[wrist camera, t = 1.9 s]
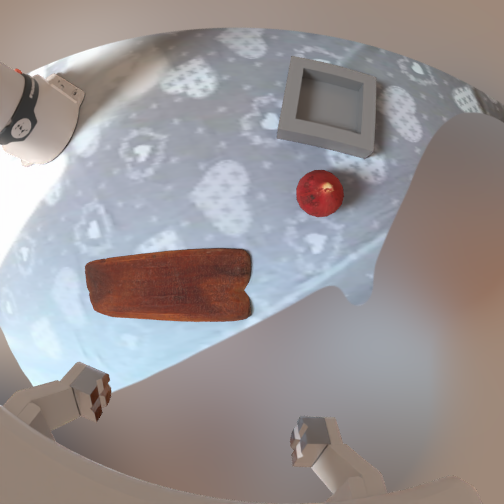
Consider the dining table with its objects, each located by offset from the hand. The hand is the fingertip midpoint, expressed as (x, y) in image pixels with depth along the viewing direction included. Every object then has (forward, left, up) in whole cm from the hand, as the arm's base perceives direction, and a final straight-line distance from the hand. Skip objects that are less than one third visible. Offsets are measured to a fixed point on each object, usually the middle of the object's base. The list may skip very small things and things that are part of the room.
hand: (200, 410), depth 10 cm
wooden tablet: (-9, -9, -28) cm, 31 cm away
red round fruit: (-3, +15, -28) cm, 32 cm away
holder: (-12, +26, -28) cm, 40 cm away
